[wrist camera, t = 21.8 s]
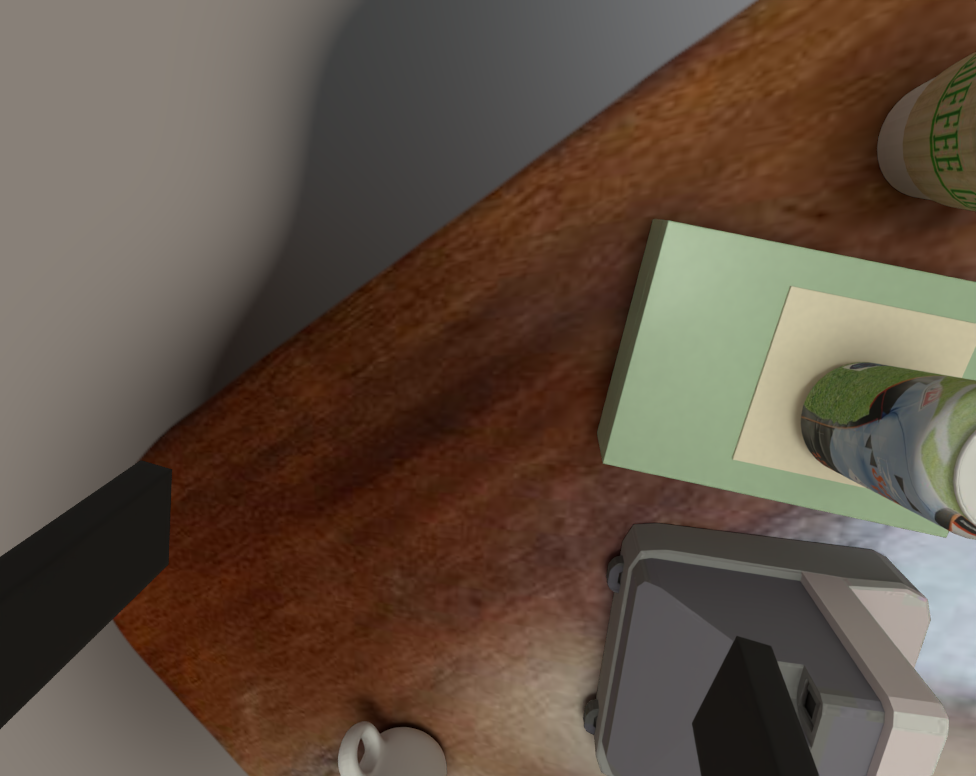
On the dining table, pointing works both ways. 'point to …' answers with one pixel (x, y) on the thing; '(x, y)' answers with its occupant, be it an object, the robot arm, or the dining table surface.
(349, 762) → the cup
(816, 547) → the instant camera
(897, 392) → the beverage can
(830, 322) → the green flat box
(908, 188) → the coffee cup
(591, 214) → the dining table surface
